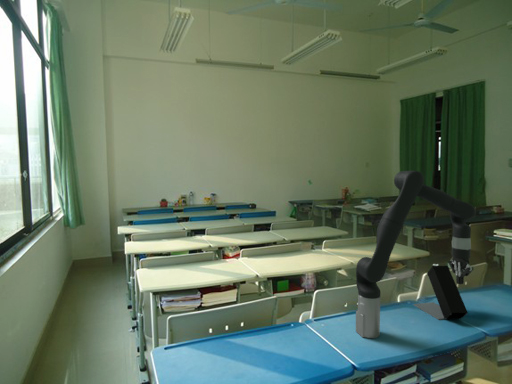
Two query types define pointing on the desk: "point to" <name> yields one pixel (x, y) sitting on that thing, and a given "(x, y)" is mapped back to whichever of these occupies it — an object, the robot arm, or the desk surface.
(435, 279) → the black rectangular bar
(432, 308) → the rubber mat
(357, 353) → the desk surface
